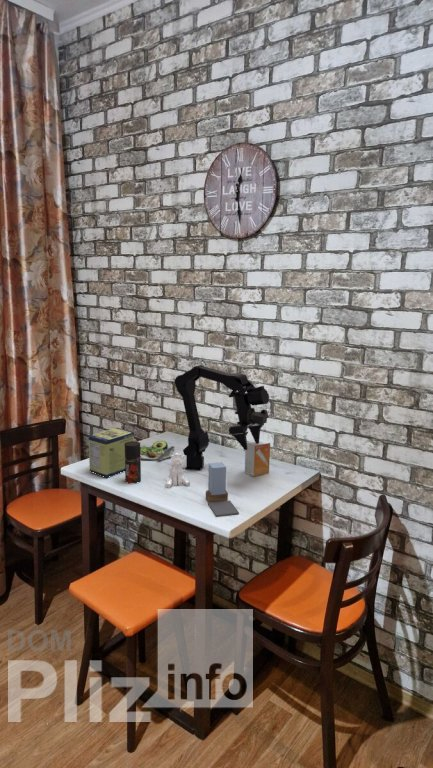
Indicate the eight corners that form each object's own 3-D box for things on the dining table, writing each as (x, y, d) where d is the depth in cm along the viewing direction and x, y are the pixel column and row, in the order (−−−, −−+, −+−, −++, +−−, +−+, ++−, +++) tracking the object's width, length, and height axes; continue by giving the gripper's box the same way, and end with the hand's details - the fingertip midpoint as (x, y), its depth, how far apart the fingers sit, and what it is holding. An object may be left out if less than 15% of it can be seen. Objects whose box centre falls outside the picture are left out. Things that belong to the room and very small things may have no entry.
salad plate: (178, 462, 224) (178, 452, 223) (136, 464, 221) (135, 454, 220) (173, 448, 243) (173, 438, 242) (134, 449, 240) (134, 440, 239)
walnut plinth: (205, 498, 187) (205, 490, 187) (224, 496, 189) (224, 488, 189) (208, 503, 184) (208, 495, 183) (227, 500, 186) (227, 493, 185)
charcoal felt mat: (208, 504, 183) (208, 502, 182) (230, 502, 185) (230, 500, 185) (216, 516, 173) (216, 515, 173) (239, 514, 175) (239, 512, 175)
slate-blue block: (208, 489, 188) (208, 463, 186) (221, 488, 189) (222, 462, 187) (212, 495, 183) (212, 468, 181) (225, 493, 184) (226, 466, 182)
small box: (253, 477, 208) (254, 445, 206) (244, 472, 213) (245, 441, 211) (269, 473, 213) (270, 442, 210) (259, 468, 218) (260, 438, 215)
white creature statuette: (165, 488, 196) (165, 458, 193) (162, 480, 204) (162, 450, 201) (190, 487, 198) (190, 456, 195) (186, 478, 206) (186, 449, 204)
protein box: (135, 467, 217) (134, 431, 214) (106, 478, 204) (105, 440, 201) (117, 462, 223) (116, 427, 220) (88, 472, 210) (87, 435, 207)
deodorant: (143, 479, 205) (143, 442, 202) (136, 484, 199) (135, 446, 196) (130, 476, 206) (129, 440, 203) (122, 482, 201) (121, 445, 198)
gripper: (249, 409, 188) (258, 451, 188) (273, 399, 203) (281, 438, 204) (224, 413, 194) (232, 453, 195) (248, 403, 209) (256, 441, 210)
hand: (252, 446), depth 201 cm, fingers open, 9 cm apart
